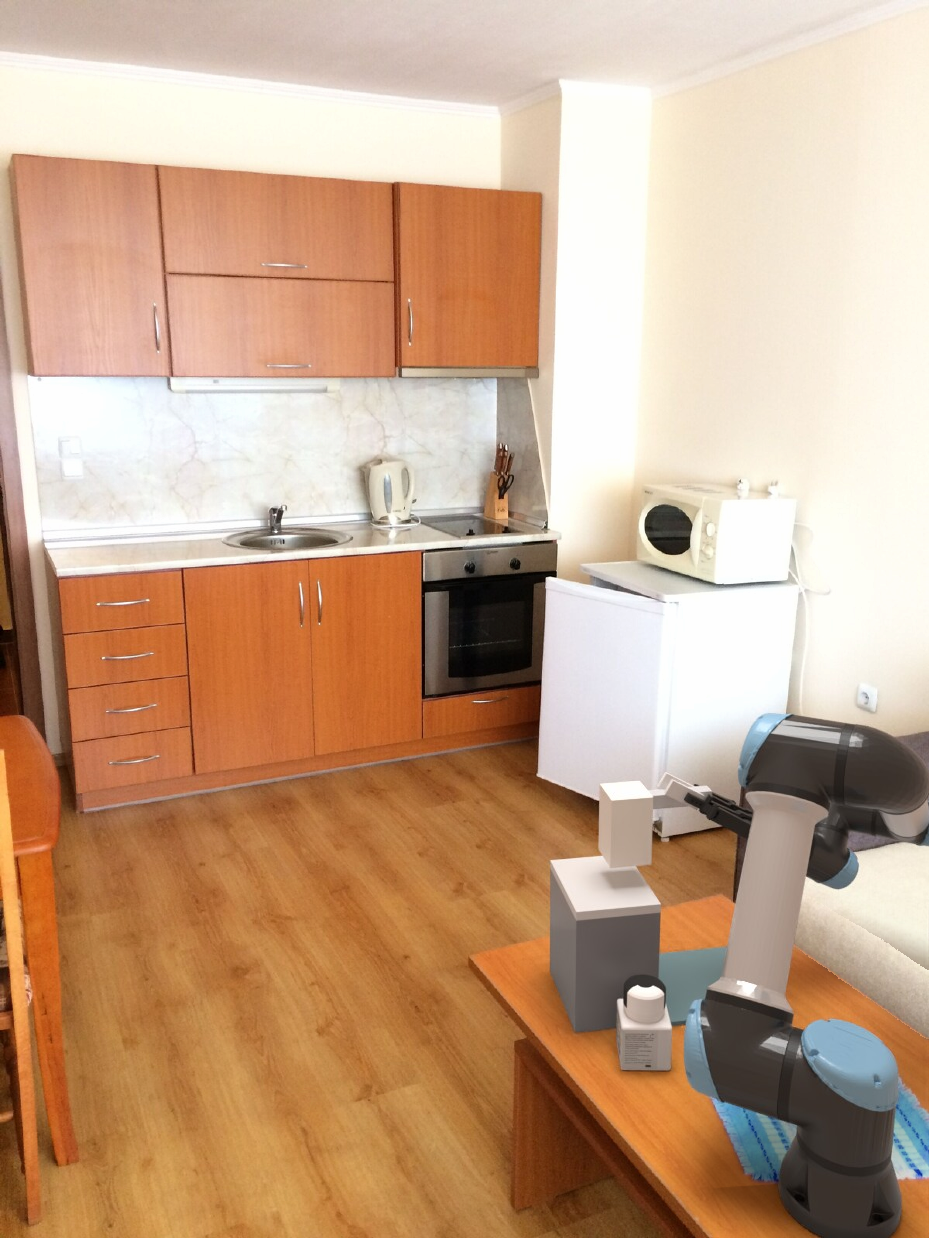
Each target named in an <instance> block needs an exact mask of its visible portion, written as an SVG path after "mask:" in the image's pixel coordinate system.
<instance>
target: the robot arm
mask: <svg viewBox="0 0 929 1238" xmlns="http://www.w3.org/2000/svg"><path fill="white" fill-rule="evenodd" d="M738 762H739V764H738V769H737V780H738V784H739V785H740V786H741V787H742V788H744V789H746V792H745V800H746V801H747V803H748V804H749V805H750V807H751V809H752V810H751V809H749V808H747V807H745V806H744V807H742V806H741V805H739V804H737V801H735V800H732V799H729V798H727V797H724V796H722V795H720V794H718V793H716V792H713V791H712V796H711V795H709V794H708V796H707V798H706V799H705V800H703V799H704V798H705V796H704V795H703V794H701V793H699V792H697V791H695V790H693V789H691V788H689V787H695V786H700V785H699V784H698V783H694V784H693V785H692V784H691V783H688V782H687V781H685V780H683V779H680V778H679V777H677V776H674V775H673V774H671V773H669V772H666V771H665V772H664V773H663V775H662V777H660V780H659V782H658V783H657V784H656V786H657V787H658V789H665V791H664V794H665V795H667V796H669V797H671V798H673V799H675V800H677V801H679V802H681V803H683V804H685V805H687V806H688V807H690V808H692V809H693V810H696V811H697V810H698V812H699V813H700V814H702V815H704V816H705V817H706V819H707V820H708V821H711V822H714V824H717V825H719V826H721V827H723V828H725V829H727V830H729V831H731V832H732V833H734V834H737V835H738V836H740V837H742V838H744V839H745V842H746V848H745V854H744V859H743V864H742V868H741V875H740V878H739V885H738V889H737V894H736V899H735V904H734V909H733V910H734V911H733V915H732V919H731V925H730V930H729V934H728V941H727V950H726V955H725V960H724V965H723V970H722V975H721V977H720V979H719V980H718V981H716V982H715V983H713V984H712V985H710V986H708V988H707V991H706V996H705V1000H703V999H699V1000H694V1001H693V1002H692V1004H691V1006H690V1009H689V1015H688V1016H687V1020H686V1025H684V1026H685V1027H684V1033H683V1034H684V1037H683V1066H684V1071H685V1077H686V1079H687V1082H688V1083H689V1085H690V1086H691V1088H692V1089H693V1090H694V1091H695V1092H697V1093H699V1094H701V1095H704V1096H707V1097H709V1098H712V1099H715V1100H717V1101H718V1102H719V1103H721V1104H722V1103H724V1104H729V1105H733V1106H735V1107H739V1108H742V1109H744V1110H747V1111H750V1112H753V1113H756V1114H760V1115H764V1116H765V1117H769V1118H772V1119H774V1120H775V1119H776V1120H779V1121H781V1122H785V1123H788V1124H791V1125H794V1126H796V1130H795V1136H793V1137H794V1138H793V1139H792V1141H791V1143H790V1146H789V1147H788V1148H787V1151H786V1153H785V1155H784V1156H783V1158H782V1161H781V1163H780V1166H779V1171H778V1172H779V1173H778V1186H777V1187H778V1188H777V1189H778V1192H779V1193H778V1194H779V1198H780V1200H781V1202H782V1204H783V1206H784V1207H785V1209H786V1210H787V1212H788V1213H789V1215H790V1216H792V1217H793V1219H794V1220H795V1221H796V1222H798V1223H799V1224H800V1226H803V1227H804V1228H805V1229H807V1231H810V1232H812V1233H813V1234H815V1235H817V1236H819V1237H821V1238H889V1237H891V1236H892V1235H893V1234H894V1233H895V1232H896V1230H897V1229H898V1228H899V1225H900V1222H901V1216H902V1205H903V1199H902V1192H901V1188H900V1184H899V1182H898V1177H897V1175H896V1170H895V1167H894V1164H893V1160H892V1153H893V1144H894V1130H895V1121H896V1120H895V1118H896V1111H897V1110H896V1107H897V1105H898V1103H899V1099H900V1089H899V1066H898V1062H897V1060H896V1058H895V1056H894V1054H893V1052H892V1051H891V1050H890V1048H888V1046H886V1045H885V1043H884V1041H882V1040H881V1038H879V1037H878V1036H877V1035H875V1034H874V1033H872V1032H871V1031H869V1030H867V1029H866V1028H864V1027H863V1026H859V1025H858V1024H855V1023H852V1022H851V1021H850V1022H849V1021H846V1020H843V1019H836V1018H829V1019H827V1020H825V1019H818V1020H817V1019H816V1020H814V1021H812V1022H810V1023H809V1024H808V1025H806V1028H804V1029H803V1028H799V1027H796V1026H793V1021H794V1015H795V1012H794V1010H793V1007H792V1006H791V1005H790V1003H789V1001H788V1000H787V998H786V990H787V986H788V979H789V973H790V969H791V962H792V957H793V951H794V946H795V941H796V936H797V935H796V934H797V928H798V923H799V918H800V912H801V906H802V899H803V895H804V889H805V883H806V878H808V879H810V880H812V881H813V882H815V883H817V884H820V885H823V886H825V887H827V888H828V887H829V888H830V889H833V890H842V889H846V888H847V887H849V886H850V885H851V884H852V883H853V882H854V881H855V879H856V878H857V875H858V872H859V867H860V863H859V861H858V860H859V859H858V856H857V855H856V854H855V852H853V850H852V849H850V848H848V843H849V838H850V833H857V834H861V835H865V836H872V837H875V838H876V837H878V838H882V839H883V838H884V839H888V840H893V841H898V842H902V843H907V844H911V845H912V844H913V845H915V846H919V847H922V846H923V847H924V846H925V847H929V800H928V798H929V768H928V766H927V764H926V762H925V761H924V760H923V759H922V758H921V756H920V755H919V754H918V753H917V752H916V751H915V750H914V749H912V748H911V747H909V746H908V745H907V744H906V743H905V742H903V741H901V740H900V739H898V738H897V737H895V736H894V735H892V734H890V733H888V732H886V731H883V730H881V729H879V728H877V727H872V726H869V725H866V724H864V725H863V724H857V723H848V722H842V721H841V722H840V721H835V720H829V719H823V718H816V717H810V716H803V715H798V714H794V713H786V714H785V713H777V712H776V713H775V712H766V713H763V714H761V715H760V716H758V717H757V718H756V719H755V721H754V722H753V723H752V725H751V726H750V728H749V730H748V732H747V734H746V736H745V739H744V741H743V744H742V748H741V751H740V756H739V761H738Z"/></svg>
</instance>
